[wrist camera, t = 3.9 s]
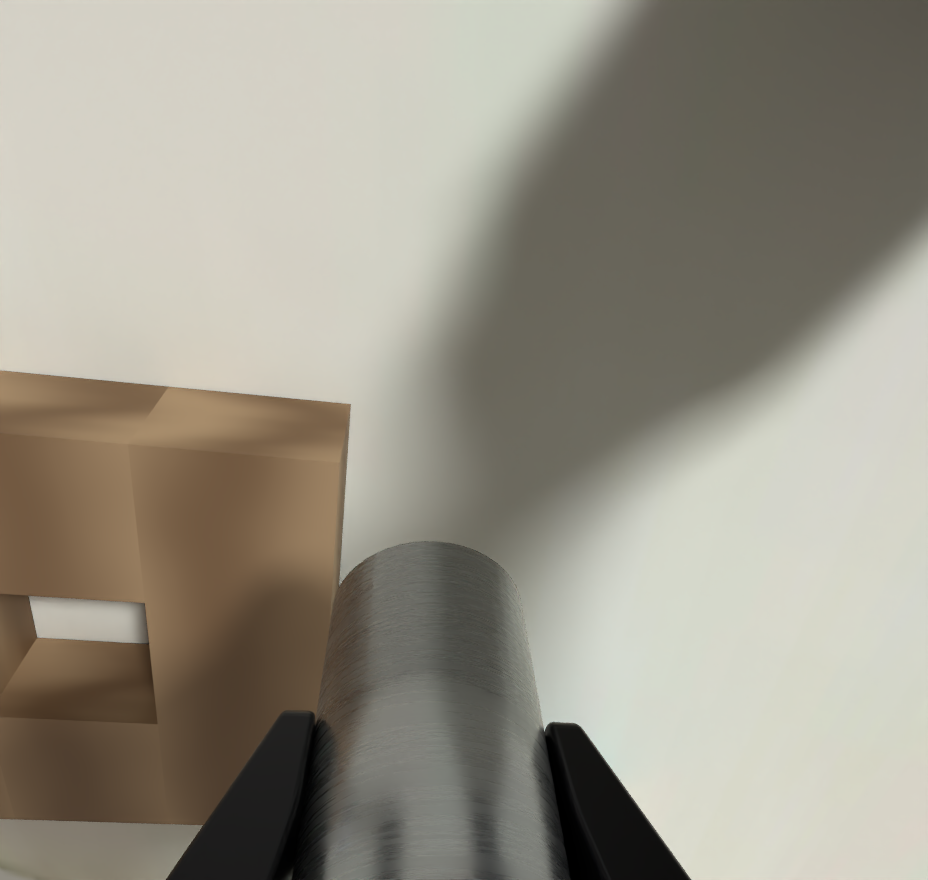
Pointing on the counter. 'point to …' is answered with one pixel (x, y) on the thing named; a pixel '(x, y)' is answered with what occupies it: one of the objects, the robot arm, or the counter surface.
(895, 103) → the counter surface
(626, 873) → the robot arm
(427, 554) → the long pin
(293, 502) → the hole block
